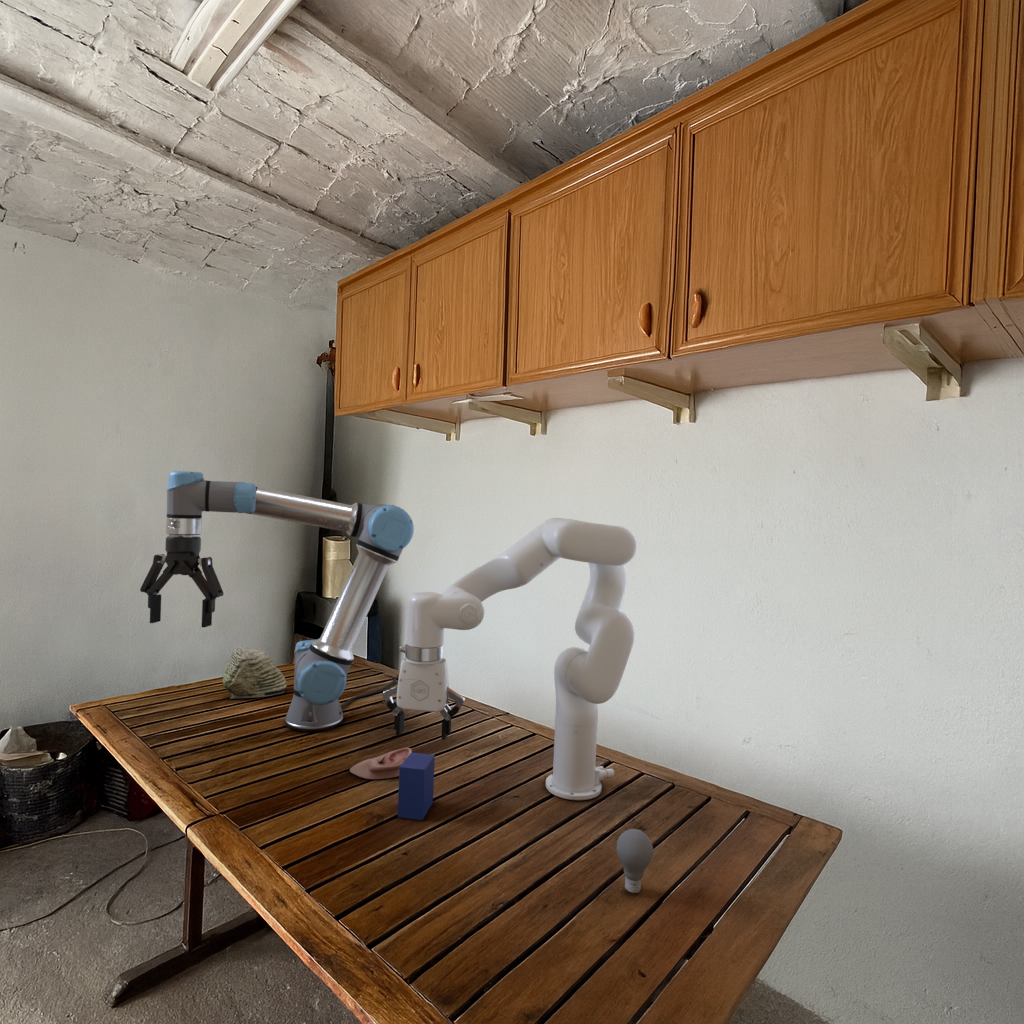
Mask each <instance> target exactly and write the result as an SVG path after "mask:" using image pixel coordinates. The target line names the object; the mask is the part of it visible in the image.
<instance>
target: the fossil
mask: <svg viewBox="0 0 1024 1024" xmlns="http://www.w3.org/2000/svg"><path fill="white" fill-rule="evenodd" d="M222 676H223V677H222V685H223V687H224V688H225V690H226V691H228V693H229V698H230V699H250V698H264V697H271V696H275V695H281V694H284V693H285V691H286V689H287V687H288V686H287V680H286V678H285V676H284V674H283V673H282V672H281V669H279V668H278V667H277V665H276V663H275V662H274V660H273V659H272V658H271V657H270V656H269V655H268V654H267V653H266V652H265V650H264V649H263V648H260V647H258V648H251V647H247V646H246V647H245V646H238V647H237V648H236V649H235V650H233V651H232V653H231V656H230V657H229V659H228V660H227V663H226V666H225V668H224V671H223V675H222Z"/></svg>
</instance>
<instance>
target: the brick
mask: <svg viewBox="0 0 1024 1024" xmlns="http://www.w3.org/2000/svg"><path fill="white" fill-rule="evenodd" d="M435 759H436V755H435V754H429V753H420V752H419V753H418V752H412V753H410V755H409V756H408V757H407V758H406V760H405V761H404V762H403V763H402V764H401V766H400V768H399V776H398V791H397V793H398V795H397V815H396V816H397V818H400V819H408V820H409V819H410V820H417V821H423V820H424V818H425V817H426V815H427V813H428V811H429V810H430V808H431V807H432V805H433V803H434V786H435V783H434V782H435Z"/></svg>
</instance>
